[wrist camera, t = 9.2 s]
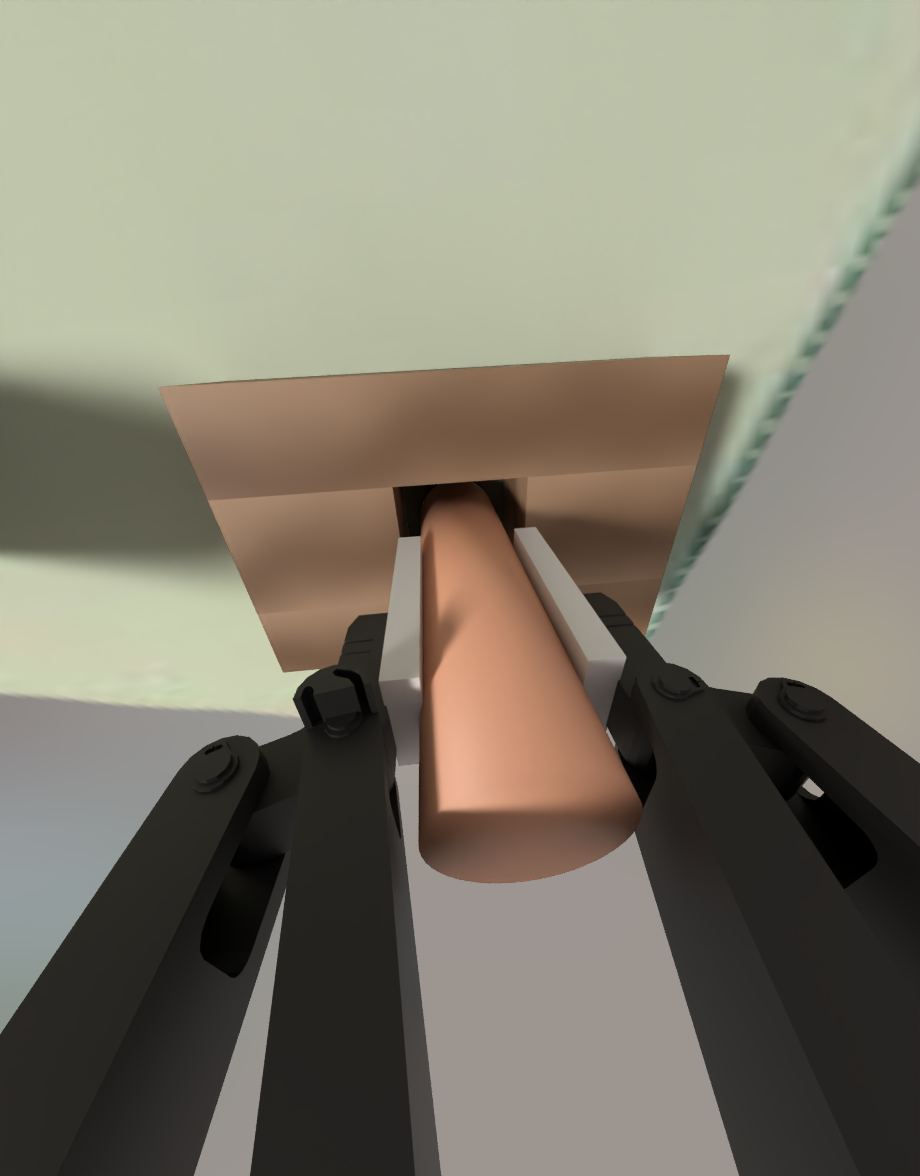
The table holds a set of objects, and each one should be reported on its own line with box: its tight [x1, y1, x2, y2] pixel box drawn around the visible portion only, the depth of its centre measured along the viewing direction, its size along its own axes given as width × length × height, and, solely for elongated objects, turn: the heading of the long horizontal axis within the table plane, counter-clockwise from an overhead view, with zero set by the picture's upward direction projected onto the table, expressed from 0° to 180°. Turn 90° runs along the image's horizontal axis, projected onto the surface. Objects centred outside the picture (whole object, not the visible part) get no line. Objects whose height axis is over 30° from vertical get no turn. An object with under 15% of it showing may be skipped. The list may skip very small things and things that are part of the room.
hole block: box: [158, 355, 730, 672], centre depth 16 cm, size 12×18×4 cm, turn 93°
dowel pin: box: [419, 482, 643, 883], centre depth 11 cm, size 4×4×14 cm
